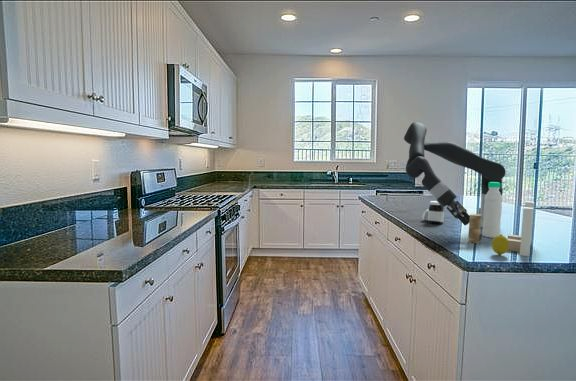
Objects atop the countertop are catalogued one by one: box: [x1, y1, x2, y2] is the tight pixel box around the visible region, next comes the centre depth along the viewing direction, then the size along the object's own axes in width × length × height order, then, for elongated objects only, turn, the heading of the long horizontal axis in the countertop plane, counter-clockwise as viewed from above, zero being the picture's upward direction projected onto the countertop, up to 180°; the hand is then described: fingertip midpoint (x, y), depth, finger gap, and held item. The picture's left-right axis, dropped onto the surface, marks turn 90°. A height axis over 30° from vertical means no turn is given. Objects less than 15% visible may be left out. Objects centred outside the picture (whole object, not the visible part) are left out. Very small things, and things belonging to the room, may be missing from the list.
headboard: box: [507, 200, 535, 257], centre depth 142 cm, size 8×22×18 cm, turn 144°
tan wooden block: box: [467, 213, 483, 244], centre depth 152 cm, size 5×4×12 cm
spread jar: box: [421, 200, 445, 225], centre depth 194 cm, size 12×11×12 cm
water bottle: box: [481, 182, 503, 239], centre depth 161 cm, size 7×7×25 cm
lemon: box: [491, 233, 509, 256], centre depth 133 cm, size 6×6×8 cm
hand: (469, 222), depth 153 cm, fingers open, 8 cm apart
